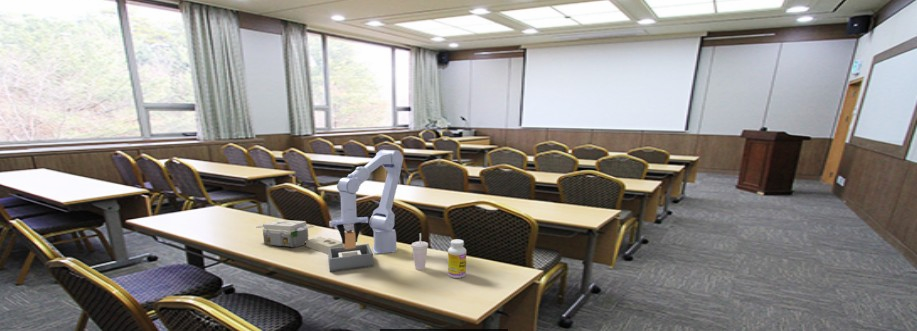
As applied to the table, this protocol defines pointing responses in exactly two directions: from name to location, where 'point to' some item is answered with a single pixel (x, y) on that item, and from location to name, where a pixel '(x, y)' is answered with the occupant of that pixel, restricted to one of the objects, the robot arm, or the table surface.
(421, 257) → the smoothie
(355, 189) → the robot arm
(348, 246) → the plug
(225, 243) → the table surface
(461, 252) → the supplement bottle
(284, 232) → the grey latched case
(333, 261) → the bay
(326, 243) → the electrical outlet
